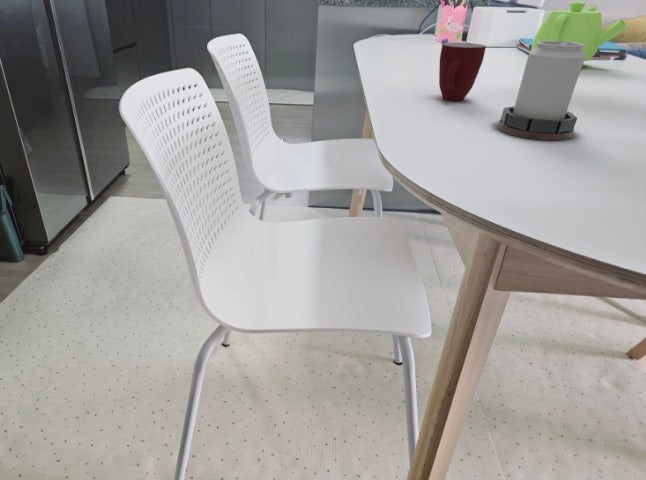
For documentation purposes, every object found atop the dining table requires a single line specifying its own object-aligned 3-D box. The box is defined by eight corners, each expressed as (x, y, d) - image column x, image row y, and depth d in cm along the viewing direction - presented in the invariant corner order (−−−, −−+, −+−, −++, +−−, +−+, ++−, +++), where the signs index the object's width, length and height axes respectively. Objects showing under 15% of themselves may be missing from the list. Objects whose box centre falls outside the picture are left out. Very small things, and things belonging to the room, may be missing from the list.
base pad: (563, 124, 79) (568, 107, 78) (580, 143, 70) (586, 124, 69) (494, 119, 81) (498, 103, 80) (501, 137, 73) (506, 118, 71)
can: (506, 117, 79) (527, 38, 72) (553, 120, 78) (579, 39, 71) (515, 129, 73) (540, 43, 66) (567, 132, 72) (597, 45, 65)
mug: (470, 107, 89) (483, 50, 84) (427, 103, 92) (437, 47, 87) (475, 97, 97) (487, 44, 92) (435, 93, 100) (445, 41, 95)
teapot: (597, 75, 121) (622, 5, 112) (515, 65, 134) (531, 1, 126) (626, 66, 135) (651, 3, 127) (549, 58, 148) (567, 0, 140)
